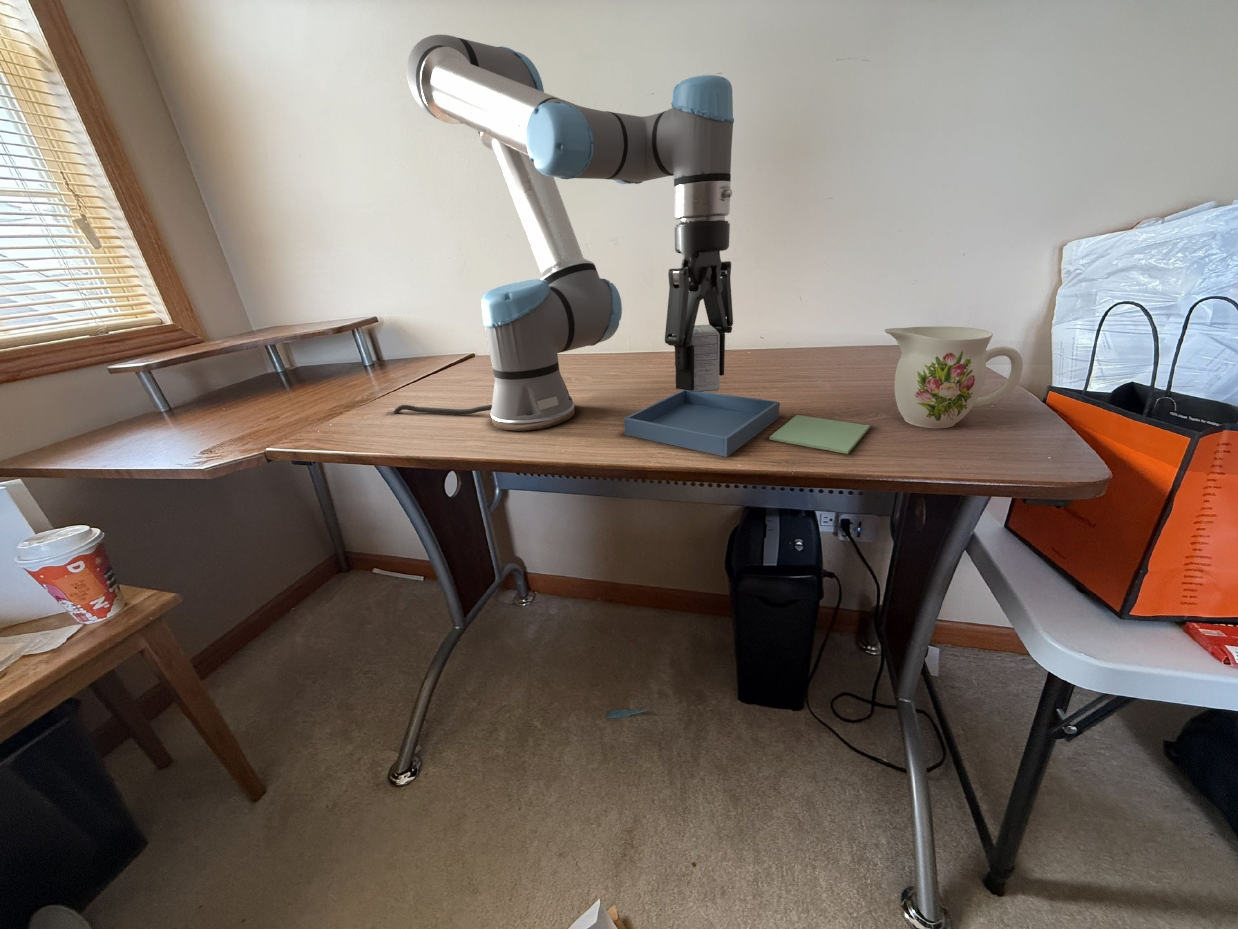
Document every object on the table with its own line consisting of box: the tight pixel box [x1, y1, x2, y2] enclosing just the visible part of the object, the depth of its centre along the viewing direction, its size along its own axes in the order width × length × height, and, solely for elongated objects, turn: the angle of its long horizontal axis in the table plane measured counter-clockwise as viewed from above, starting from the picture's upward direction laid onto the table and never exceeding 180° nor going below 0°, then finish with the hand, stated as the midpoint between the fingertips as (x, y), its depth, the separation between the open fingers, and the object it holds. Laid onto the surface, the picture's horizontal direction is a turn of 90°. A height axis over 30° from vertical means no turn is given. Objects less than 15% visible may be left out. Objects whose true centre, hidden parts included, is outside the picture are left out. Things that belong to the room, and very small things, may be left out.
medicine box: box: [684, 324, 720, 392], centre depth 73 cm, size 8×4×9 cm, turn 179°
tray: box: [623, 389, 781, 458], centre depth 77 cm, size 18×18×3 cm
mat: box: [768, 414, 871, 455], centre depth 71 cm, size 11×11×1 cm
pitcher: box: [884, 326, 1024, 429], centre depth 69 cm, size 11×18×14 cm, turn 74°
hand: (700, 381), depth 75 cm, fingers closed on medicine box, 9 cm apart
